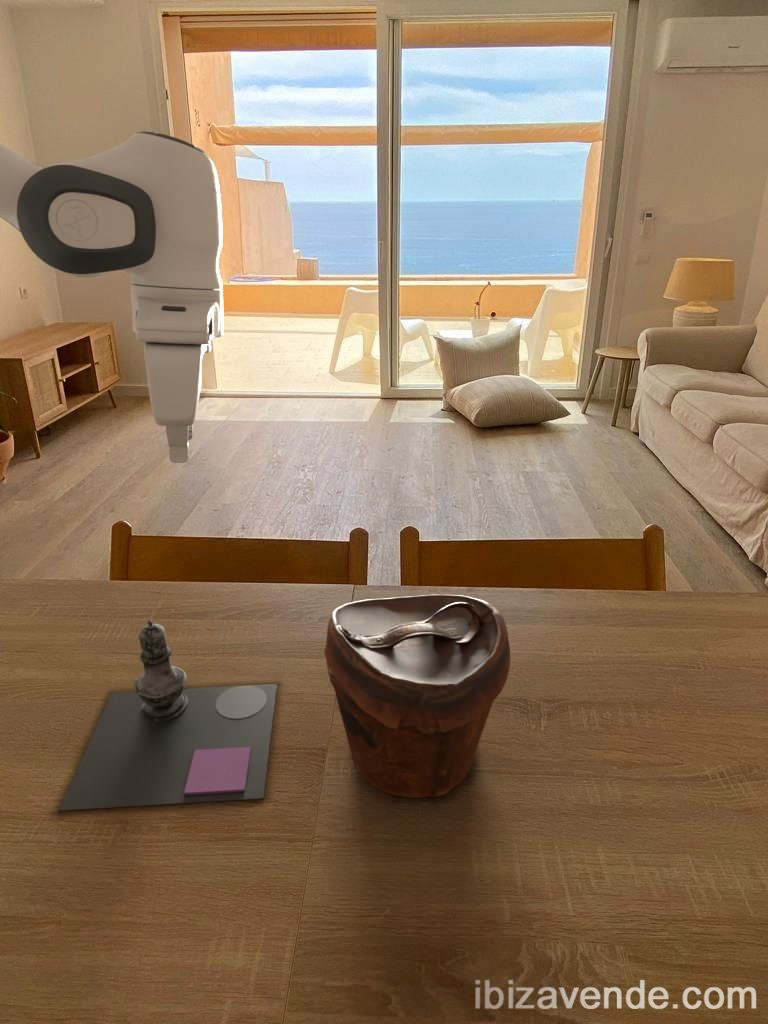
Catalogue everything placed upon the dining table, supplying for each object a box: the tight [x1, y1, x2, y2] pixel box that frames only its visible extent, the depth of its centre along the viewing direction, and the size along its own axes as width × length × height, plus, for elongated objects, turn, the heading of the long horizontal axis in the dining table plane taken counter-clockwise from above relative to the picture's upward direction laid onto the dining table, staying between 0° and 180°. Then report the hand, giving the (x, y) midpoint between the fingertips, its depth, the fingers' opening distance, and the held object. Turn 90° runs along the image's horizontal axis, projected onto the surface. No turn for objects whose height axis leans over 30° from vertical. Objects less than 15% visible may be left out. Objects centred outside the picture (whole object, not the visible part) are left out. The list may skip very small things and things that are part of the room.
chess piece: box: [133, 619, 188, 721], centre depth 80 cm, size 6×6×12 cm
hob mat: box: [58, 683, 278, 812], centre depth 77 cm, size 20×18×1 cm
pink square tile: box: [184, 747, 251, 795], centre depth 73 cm, size 6×6×1 cm
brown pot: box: [324, 593, 511, 799], centre depth 71 cm, size 18×20×18 cm
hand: (182, 449), depth 75 cm, fingers open, 8 cm apart
